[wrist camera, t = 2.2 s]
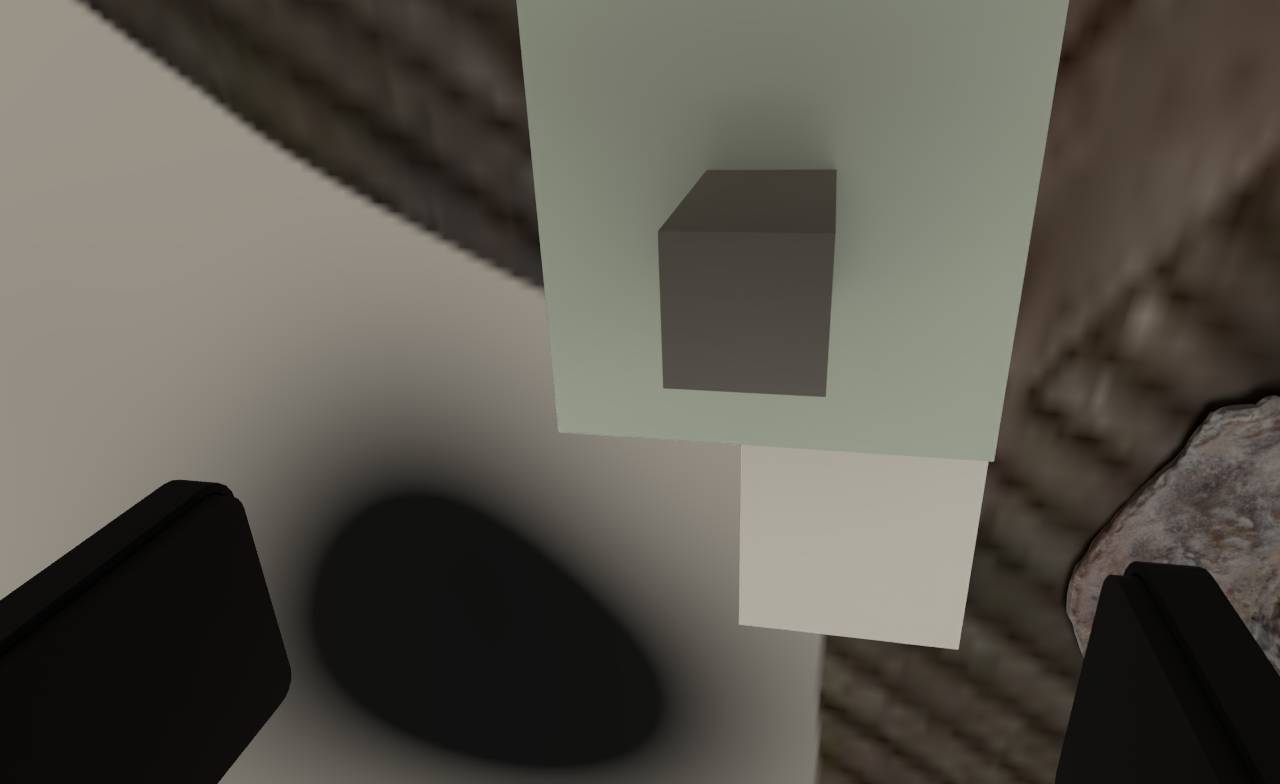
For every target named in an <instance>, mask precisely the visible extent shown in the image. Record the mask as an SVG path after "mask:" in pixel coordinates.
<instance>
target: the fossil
mask: <svg viewBox="0 0 1280 784" xmlns="http://www.w3.org/2000/svg"><path fill="white" fill-rule="evenodd" d="M1134 561H1141V562H1153V563H1165V564H1176V565H1188V566H1199V567H1202V568H1205V569H1206V570H1207V571H1208V572H1209V573H1210V574H1211V575H1212V576H1213V578H1214V579H1215V581H1216V582H1217V583H1218V585H1219V586H1220V588H1221V589H1222V591H1223V592H1224V594H1225V595H1226V597H1227V598H1228V600H1229V601H1230V603H1231V604H1232V606H1233V607H1234V609H1235V610H1236V612H1237V613H1238V615H1239V616H1240V618H1241V619H1242V621H1243V622H1244V624H1245V625H1246V627H1247V628H1248V630H1249V631H1250V633H1251V634H1252V636H1253V637H1254V639H1255V640H1256V641H1257V643H1258V644H1259V646H1260V647H1261V649H1262V650H1263V652H1264V653H1265V655H1266V656H1267V658H1268V659H1269V661H1270V662H1271V664H1272V665H1273V667H1274V668H1275V670H1276V671H1277V673H1278V674H1279V676H1280V397H1278V396H1275V395H1274V396H1267V397H1265V398H1263V399H1262V400H1260V401H1259V402H1258V403H1256V404H1239V405H1230V406H1226V407H1222V408H1220V409H1218V410H1217V411H1213V412H1210V413H1209V415H1208V416H1207V418H1206V419H1205V420H1204V421H1203V422H1202V423H1201V425H1200V426H1199V427H1198V428H1197V429H1196V431H1195V432H1194V433H1193V434H1192V436H1191V437H1190V438H1189V440H1188V441H1187V443H1186V445H1185V446H1184V448H1183V450H1182V451H1181V452H1180V453H1179V454H1178V455H1177V456H1176V457H1175V459H1173V460H1172V461H1171V462H1170V463H1169V464H1167V465H1166V466H1165V467H1164V468H1162V469H1161V470H1160V471H1159V472H1157V473H1156V474H1155V475H1154V476H1153V477H1152V478H1151V479H1150V480H1149V481H1148V482H1147V483H1145V484H1144V485H1143V486H1141V487H1140V488H1139V489H1138V490H1137V492H1136V493H1135V494H1134V495H1133V496H1132V497H1131V498H1130V499H1129V500H1128V501H1127V502H1126V503H1125V504H1124V505H1123V506H1122V508H1121V509H1120V510H1119V511H1118V512H1117V513H1116V514H1115V515H1114V517H1113V518H1112V519H1111V521H1110V523H1109V524H1107V525H1105V526H1104V527H1103V529H1102V530H1101V531H1100V532H1099V534H1098V535H1097V536H1096V537H1095V539H1094V540H1093V541H1092V543H1091V545H1090V547H1089V549H1088V551H1087V552H1086V554H1085V555H1084V557H1083V558H1082V559H1081V560H1080V561H1079V562H1078V563H1077V564H1076V565H1075V568H1074V571H1073V573H1072V576H1071V579H1070V583H1069V588H1068V592H1067V602H1066V611H1067V614H1068V616H1069V618H1070V620H1071V622H1072V624H1073V628H1074V632H1075V635H1076V638H1077V641H1078V645H1079V647H1080V650H1081V653H1082V655H1083V657H1085V653H1086V649H1087V645H1088V641H1089V637H1090V633H1091V629H1092V624H1093V620H1094V616H1095V612H1096V608H1097V604H1098V600H1099V596H1100V592H1101V588H1102V585H1103V582H1104V580H1105V578H1106V577H1107V576H1108V575H1111V574H1112V575H1124V572H1125V569H1126V568H1127V567H1128V565H1129V564H1130V563H1132V562H1134Z"/></svg>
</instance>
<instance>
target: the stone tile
mask: <svg viewBox="0 0 1280 784" xmlns="http://www.w3.org/2000/svg"><path fill="white" fill-rule="evenodd" d="M987 468H988V461H976V460H961V459H946V458H932V457H917V456H902V455H887V454H872V453H857V452H843V451H828V450H813V449H798V448H783V447H768V446H754V445H741V476H740V480H741V481H740V574H739V575H740V576H739V624H740V625H748V626H757V627H766V628H775V629H783V630H792V631H801V632H809V633H818V634H827V635H835V636H844V637H853V638H861V639H870V640H879V641H887V642H896V643H905V644H913V645H922V646H931V647H940V648H948V649H957V650H958V649H959V643H960V637H961V630H962V624H963V618H964V612H965V605H966V599H967V593H968V586H969V580H970V574H971V568H972V561H973V555H974V549H975V543H976V536H977V530H978V524H979V518H980V511H981V505H982V499H983V493H984V486H985V480H986V474H987Z"/></svg>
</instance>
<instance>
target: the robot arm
mask: <svg viewBox="0 0 1280 784" xmlns="http://www.w3.org/2000/svg"><path fill="white" fill-rule="evenodd" d="M290 682H291V668H290V664H289V661H288V658H287V654H286V650H285V647H284V644H283V640H282V637H281V633H280V630H279V627H278V623H277V619H276V616H275V613H274V609H273V606H272V602H271V599H270V595H269V592H268V589H267V585H266V582H265V578H264V575H263V572H262V568H261V565H260V561H259V558H258V554H257V551H256V547H255V544H254V540H253V537H252V533H251V530H250V527H249V523H248V520H247V516H246V513H245V509H244V507H243V505H242V503H241V502H240V501H239V500H238V499H237V498H234V495H233V493H232V491H231V490H230V489H229V488H228V487H227V486H225V485H223V484H220V483H212V482H199V481H188V480H172V481H170V482H168V483H166V484H164V485H162V486H161V487H159V488H158V489H157V490H155V491H154V492H152V493H151V494H150V495H148V496H147V497H145V498H144V499H143V500H141V501H140V502H138V503H137V504H135V505H134V506H133V507H131V508H130V509H129V510H127V511H126V512H124V513H123V514H121V515H120V516H119V517H117V518H116V519H114V520H113V521H112V522H110V523H109V524H107V525H106V526H105V527H103V528H102V529H100V530H99V531H97V532H96V533H95V534H93V535H92V536H90V537H89V538H88V539H86V540H85V541H83V542H82V543H81V544H79V545H78V546H76V547H75V548H74V549H72V550H71V551H69V552H68V553H67V554H65V555H64V556H62V557H61V558H59V559H58V560H57V561H55V562H54V563H52V564H51V565H50V566H48V567H47V568H45V569H44V570H43V571H41V572H40V573H38V574H37V575H36V576H34V577H33V578H31V579H30V580H29V581H27V582H26V583H24V584H23V585H21V586H20V587H19V588H17V589H16V590H14V591H13V592H12V593H10V594H9V595H7V596H6V597H5V598H3V599H2V600H0V784H218V782H219V781H220V780H221V779H222V777H223V776H224V775H225V774H226V772H227V771H228V770H229V768H230V767H231V766H232V765H233V763H234V762H235V761H236V760H237V758H238V757H239V756H240V755H241V753H242V752H243V751H244V749H245V748H246V747H247V746H248V745H249V743H250V742H251V741H252V739H253V738H254V737H255V736H256V734H257V733H258V732H259V731H260V729H261V728H262V727H263V726H264V724H265V723H266V722H267V721H268V719H269V718H270V717H271V716H272V714H273V713H274V712H275V710H276V709H277V708H278V707H279V705H280V704H281V703H282V701H283V700H284V698H285V697H286V695H287V692H288V690H289V686H290ZM1055 784H1280V676H1279V674H1278V673H1277V671H1276V670H1275V668H1274V667H1273V665H1272V664H1271V662H1270V661H1269V659H1268V658H1267V656H1266V655H1265V653H1264V652H1263V650H1262V649H1261V647H1260V646H1259V644H1258V643H1257V641H1256V640H1255V639H1254V637H1253V636H1252V634H1251V633H1250V631H1249V630H1248V628H1247V627H1246V625H1245V624H1244V622H1243V621H1242V619H1241V618H1240V616H1239V615H1238V613H1237V612H1236V610H1235V609H1234V607H1233V606H1232V604H1231V603H1230V601H1229V600H1228V598H1227V597H1226V595H1225V594H1224V592H1223V591H1222V589H1221V588H1220V586H1219V585H1218V583H1217V582H1216V581H1215V579H1214V578H1213V576H1212V575H1211V574H1210V573H1209V572H1208V571H1207V570H1206V569H1205V568H1202V567H1199V566H1188V565H1176V564H1165V563H1153V562H1141V561H1134V562H1132V563H1130V564H1129V565H1128V567H1127V568H1126V569H1125V572H1124V575H1112V574H1111V575H1108V576H1107V577H1106V578H1105V580H1104V582H1103V585H1102V588H1101V592H1100V596H1099V600H1098V604H1097V608H1096V612H1095V616H1094V620H1093V624H1092V629H1091V633H1090V637H1089V641H1088V645H1087V649H1086V653H1085V657H1084V661H1083V665H1082V670H1081V674H1080V678H1079V682H1078V686H1077V690H1076V694H1075V698H1074V702H1073V707H1072V711H1071V715H1070V719H1069V723H1068V727H1067V731H1066V735H1065V739H1064V743H1063V748H1062V752H1061V756H1060V760H1059V764H1058V768H1057V772H1056V779H1055Z"/></svg>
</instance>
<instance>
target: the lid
mask: <svg viewBox="0 0 1280 784" xmlns="http://www.w3.org/2000/svg"><path fill="white" fill-rule="evenodd" d="M516 2H517V12H518V22H519V32H520V43H521V53H522V63H523V73H524V84H525V94H526V104H527V115H528V125H529V135H530V145H531V156H532V166H533V176H534V186H535V197H536V207H537V217H538V227H539V238H540V248H541V258H542V268H543V279H544V289H545V299H546V309H547V320H548V329H549V340H550V349H551V360H552V370H553V381H554V391H555V402H556V412H557V422H558V432H561V433H576V434H577V433H578V434H591V435H605V436H621V437H635V438H636V437H637V438H650V439H665V440H680V441H694V442H695V441H696V442H710V443H725V444H739V445H754V446H768V447H783V448H798V449H813V450H828V451H843V452H857V453H872V454H887V455H902V456H917V457H932V458H946V459H961V460H976V461H991V462H994V458H995V452H996V446H997V440H998V433H999V427H1000V421H1001V415H1002V409H1003V403H1004V397H1005V391H1006V384H1007V378H1008V372H1009V366H1010V360H1011V354H1012V348H1013V341H1014V335H1015V329H1016V323H1017V317H1018V311H1019V305H1020V299H1021V292H1022V286H1023V280H1024V274H1025V268H1026V262H1027V256H1028V249H1029V243H1030V237H1031V231H1032V225H1033V219H1034V213H1035V207H1036V200H1037V194H1038V188H1039V182H1040V176H1041V170H1042V164H1043V158H1044V151H1045V145H1046V139H1047V133H1048V127H1049V121H1050V115H1051V108H1052V102H1053V96H1054V90H1055V84H1056V78H1057V72H1058V66H1059V59H1060V53H1061V47H1062V41H1063V35H1064V29H1065V23H1066V16H1067V10H1068V4H1069V0H516Z"/></svg>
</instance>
